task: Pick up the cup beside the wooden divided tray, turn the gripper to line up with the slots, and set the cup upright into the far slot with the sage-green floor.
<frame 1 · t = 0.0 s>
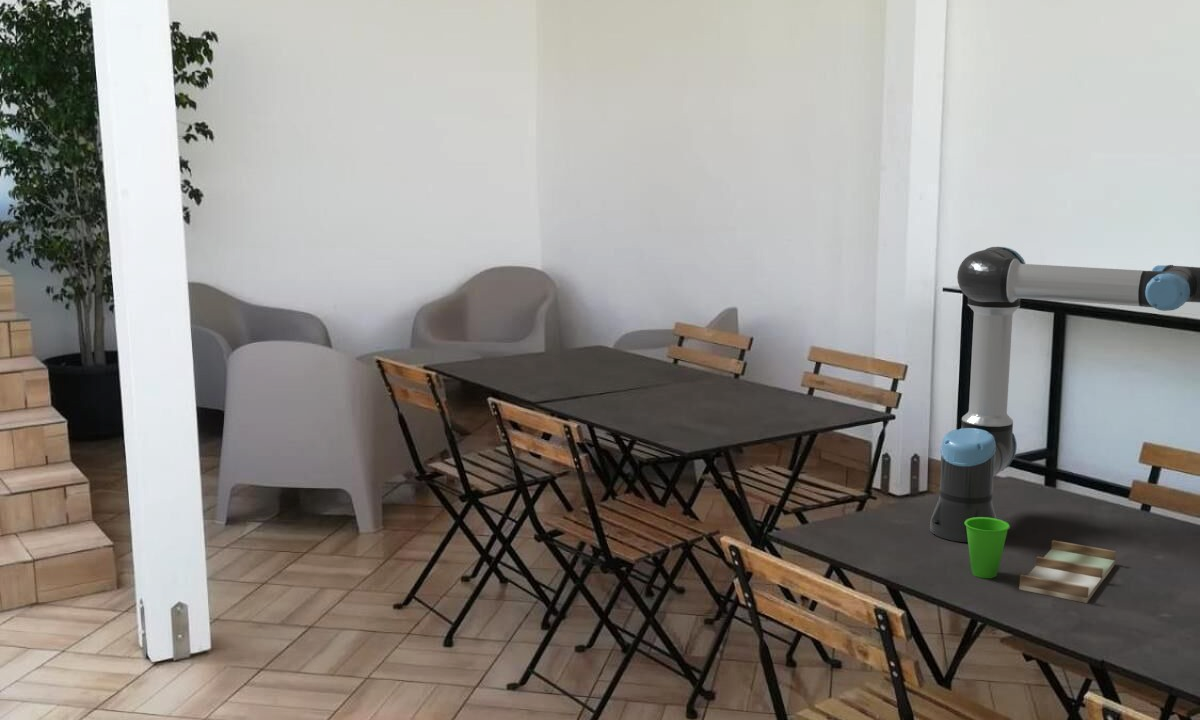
cup: (984, 574, 252), on the table
wooden divided tray: (1068, 576, 250), on the table
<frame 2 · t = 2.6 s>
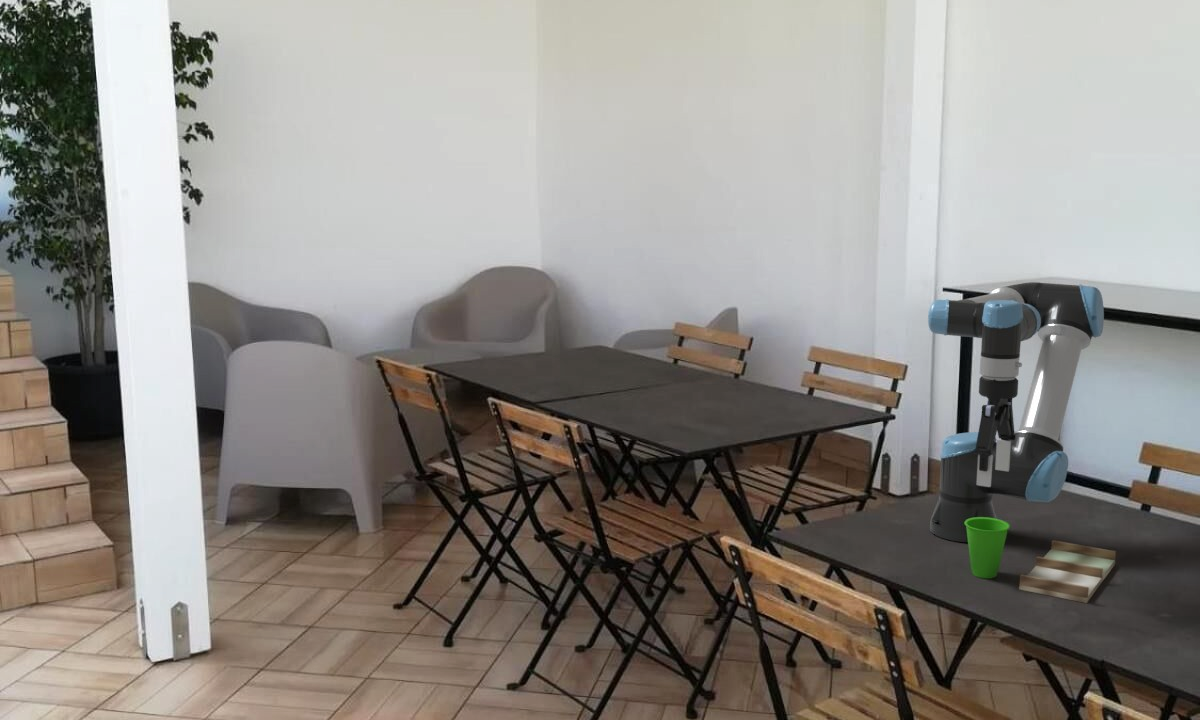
hand: (993, 478, 248), 21 cm above the table, fingers open, 13 cm apart
nothing on the table moved.
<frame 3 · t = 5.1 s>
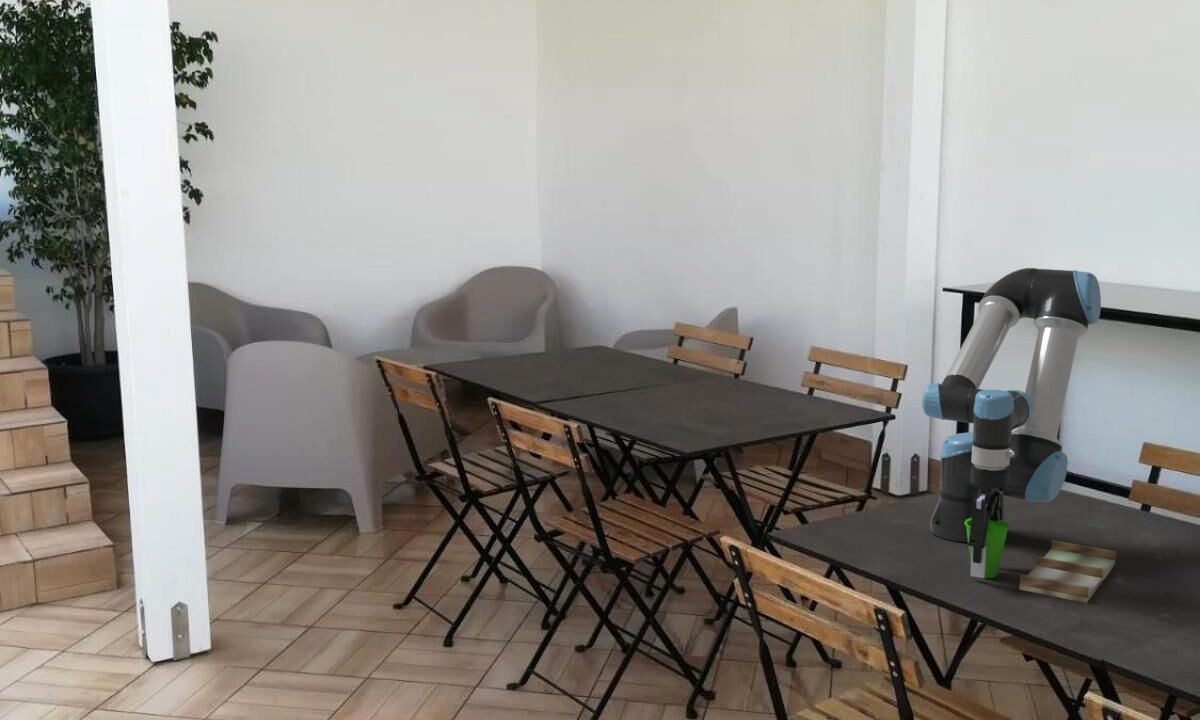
hand: (984, 569, 252), 1 cm above the table, fingers closed on cup, 9 cm apart
cup: (984, 574, 252), on the table, touching gripper
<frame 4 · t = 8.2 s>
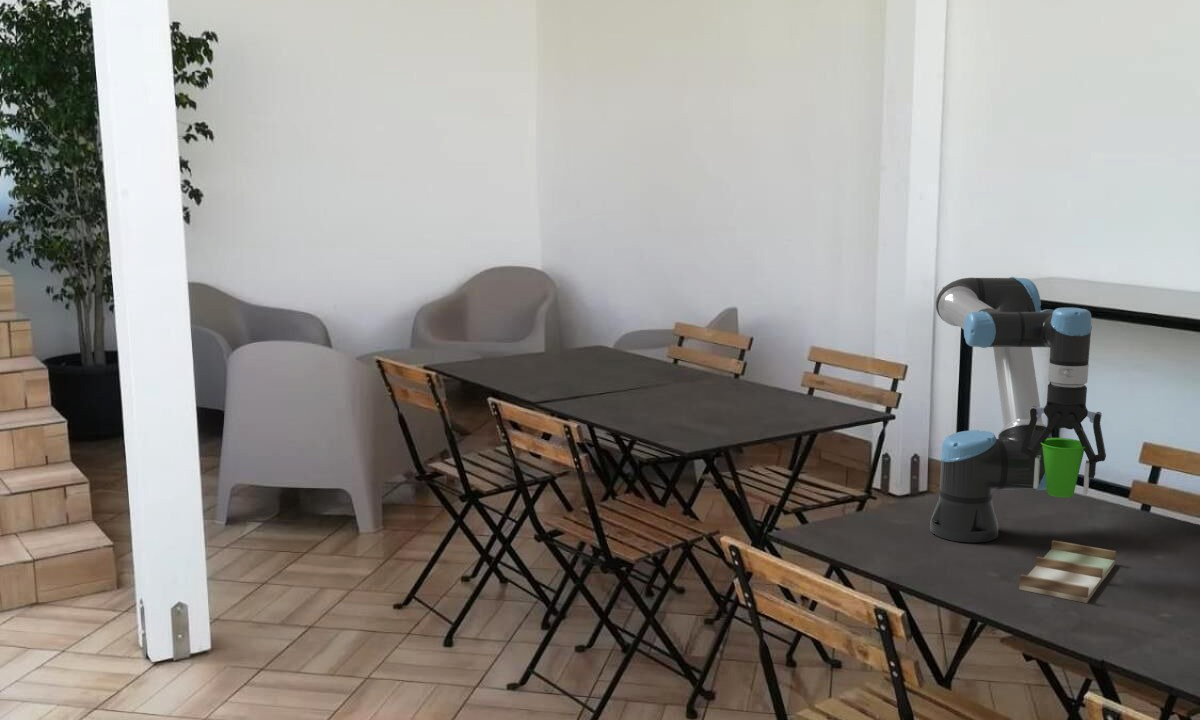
hand: (1060, 489, 251), 18 cm above the table, fingers closed on cup, 9 cm apart
cup: (1060, 495, 251), point 16 cm above the table, touching gripper
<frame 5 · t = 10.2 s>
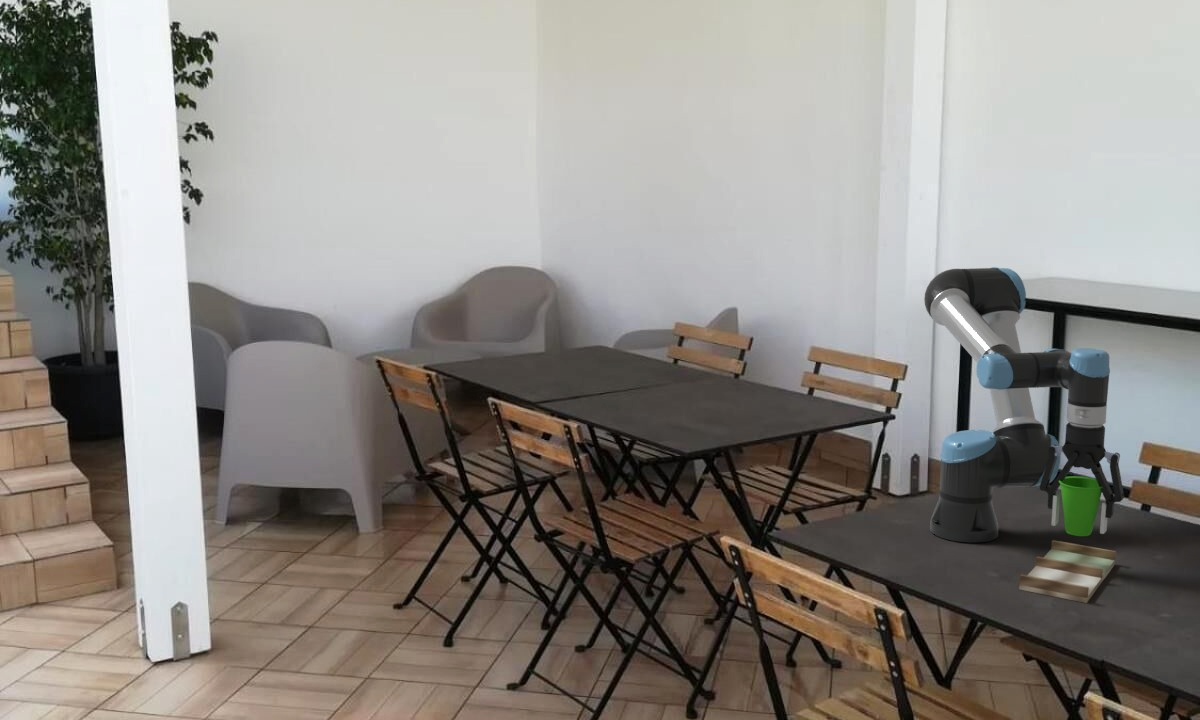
hand: (1078, 527, 254), 9 cm above the table, fingers closed on cup, 9 cm apart
cup: (1078, 533, 254), point 8 cm above the table, touching gripper
when the fingers open (4 cm above the table, at t = 11.7 s): cup drops 1 cm, resting on wooden divided tray.
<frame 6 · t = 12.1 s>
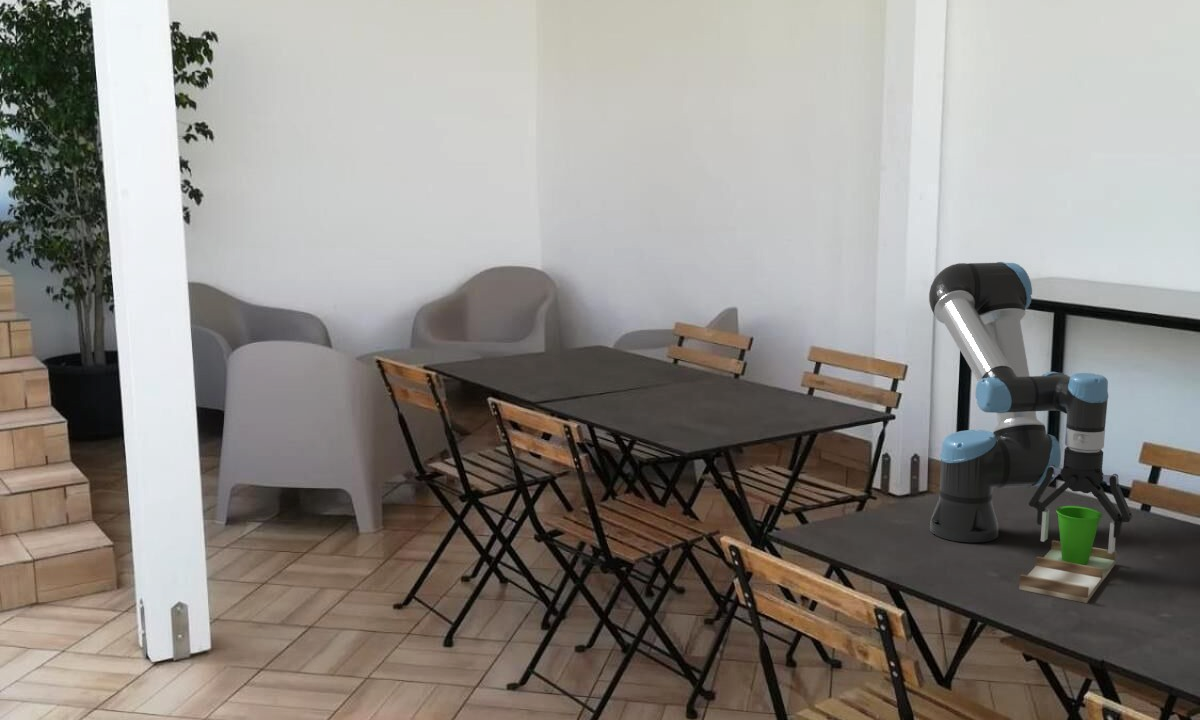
hand: (1077, 545, 255), 5 cm above the table, fingers open, 13 cm apart
cup: (1074, 563, 255), point 1 cm above the table, touching wooden divided tray
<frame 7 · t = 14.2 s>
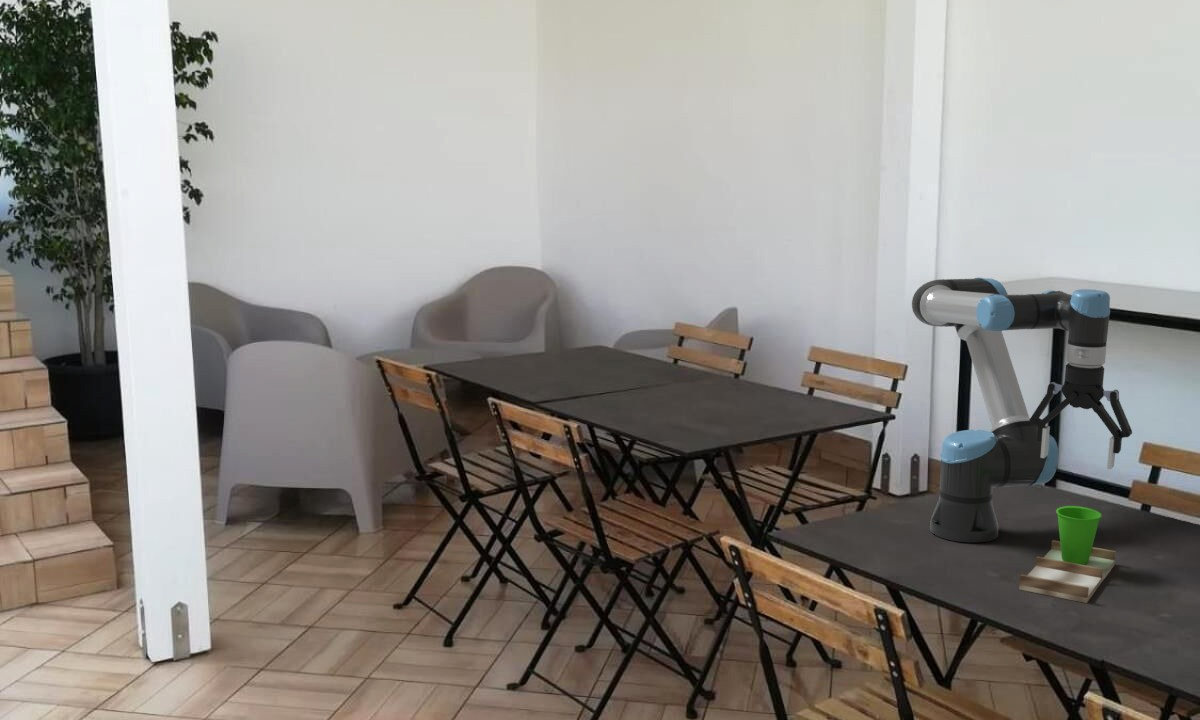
hand: (1076, 462, 256), 22 cm above the table, fingers open, 13 cm apart
nothing on the table moved.
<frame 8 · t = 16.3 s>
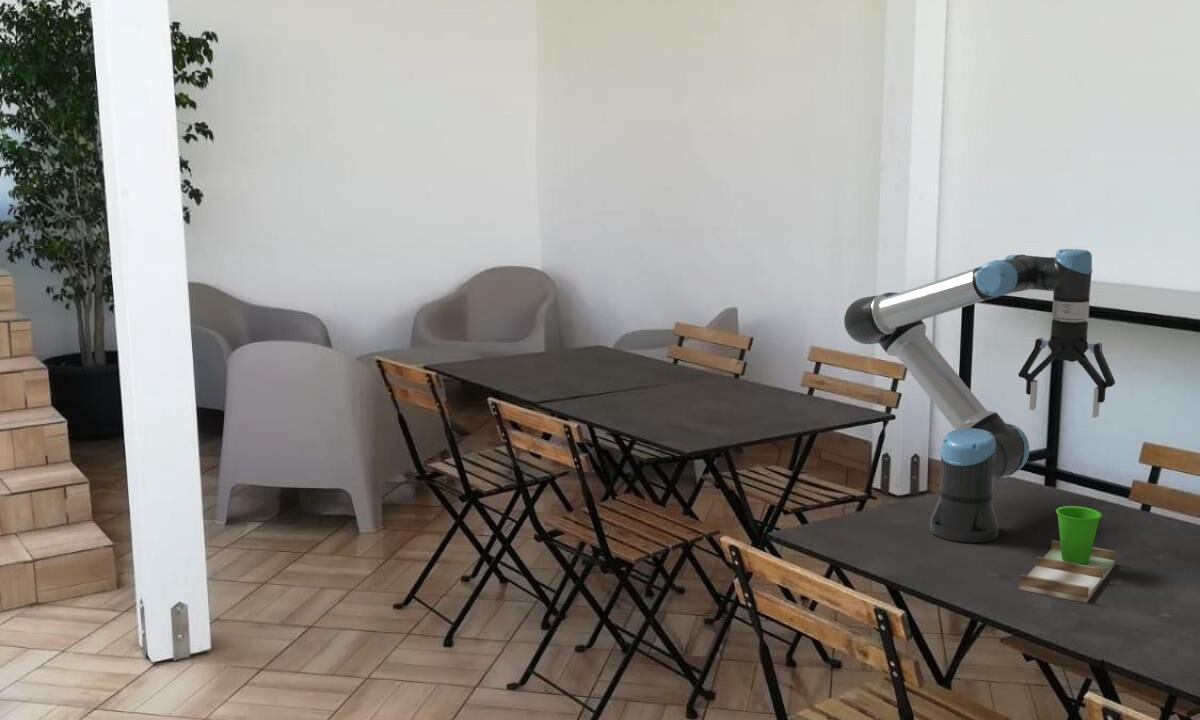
hand: (1063, 412, 271), 29 cm above the table, fingers open, 13 cm apart
nothing on the table moved.
at the end: cup inside the target area on the wooden divided tray (0.2 cm from its centre), point 1.0 cm above the wooden divided tray's base; cup tilted 0°; the gripper is holding nothing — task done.
